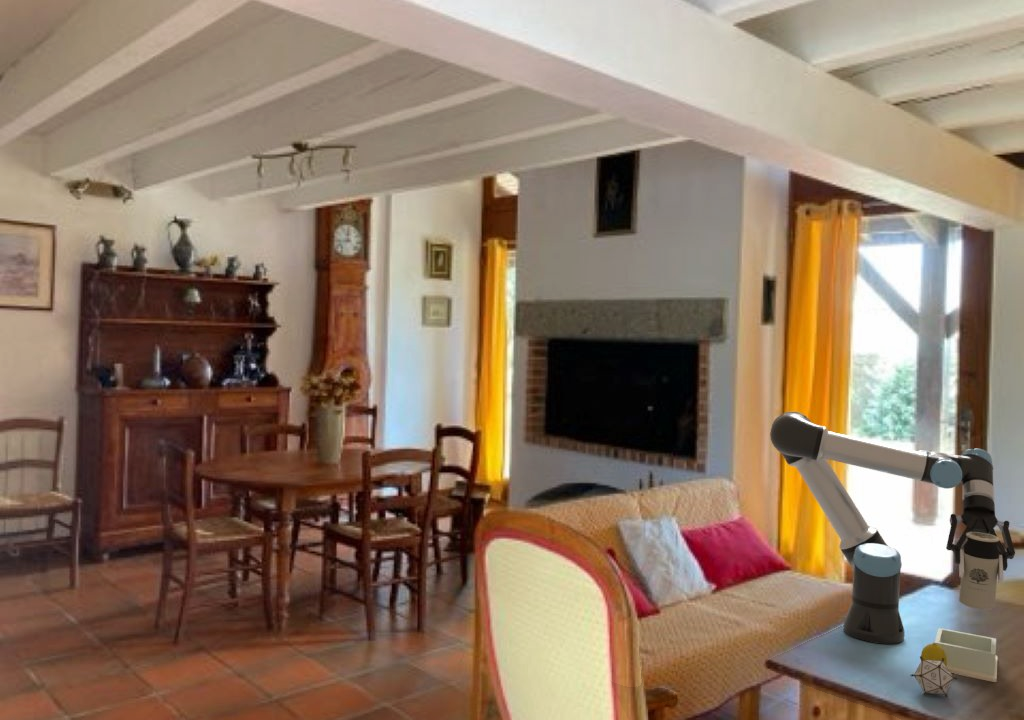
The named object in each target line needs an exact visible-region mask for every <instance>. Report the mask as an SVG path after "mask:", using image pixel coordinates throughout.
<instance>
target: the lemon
mask: <svg viewBox="0 0 1024 720" xmlns="http://www.w3.org/2000/svg"><path fill="white" fill-rule="evenodd" d="M920 656H921V657H922V658H923V659H924V660H938V661H942V658H944V661H943V662H944V664H945V665H947V657H946V654H945V651H944V650H943V649H942V648H941V647H940V646H939V645H937V644H936V643H935V642H932V643H929V644H927V645H925V646H924V647H923V648H922V650H921V654H920ZM921 661H922V660H921V659H920V662H921Z"/></svg>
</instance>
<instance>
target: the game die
mask: <svg viewBox="0 0 1024 720" xmlns="http://www.w3.org/2000/svg"><path fill="white" fill-rule="evenodd" d="M919 657H920V658H919V659H920V663H919V665H918V667H917V668H916V671H915V673H912V674H910V676H911V677H914V678H915V680H916V681H917V682H918V685H920V687H921V689H922V690H923V693H922V696H923V697H924V696H926V695H927V694H933V695H944V697H946V698H947V699H948V698H949V696H948V694H947V692H948V691H949V689H950V687H951V685H952V683H953V682H954V680H958V679H959V678H958V677H957V676H954V675H953V673H950V671H949V670H948V668H947V667H946V665H945V664H944V662H943V661H944V658H942V661H938V660H924V659H923V658H922V657H921V655H920V656H919ZM921 660H922V661H921Z"/></svg>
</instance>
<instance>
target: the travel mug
mask: <svg viewBox="0 0 1024 720" xmlns="http://www.w3.org/2000/svg"><path fill="white" fill-rule="evenodd" d="M966 536H967V540H966V542H965V543H964V545H963V550H964V575H963V578H962V577H960V583H959V584H960V585H959V587H960V588H959V597H958V598H959V599H958V601H959V603H961V604H963V605H964V606H966V607H969V608H971V609H977V610H983V611H985V610H986V611H989V610H993V609H995V605H996V596H997V595H996V593H997V584H998V564H999V553H1000V551H999V549H998V547H997V544H998V541H999V540H1000V538H999V537H998V535H997V536H994V535H991V534H987V533H981V532H968V533H966Z"/></svg>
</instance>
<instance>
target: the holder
mask: <svg viewBox="0 0 1024 720" xmlns="http://www.w3.org/2000/svg"><path fill="white" fill-rule="evenodd" d="M934 643H936V644H937V645H939V646H940V647H941V648H942V649H943V650H944V651H945V654H946V657H947V665H946V667H947V668H948V670H949V671H950V673H951V674H953V673H954V675H957V676H958V675H959V676H963V677H967V678H974V679H978V680H983V681H988V682H992V683H997V681H998V680H997V679H998V677H997V676H998V655H996V653H997V652H996V651H997V650H996V649H997V638H996V637H995V638H994V637H990V636H985V635H978V634H974V633H968V632H964V631H963V632H962V631H957V630H952V629H948V628H943V627H941V628H940V627H938V629H937V633H936V636H935V639H934Z"/></svg>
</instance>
